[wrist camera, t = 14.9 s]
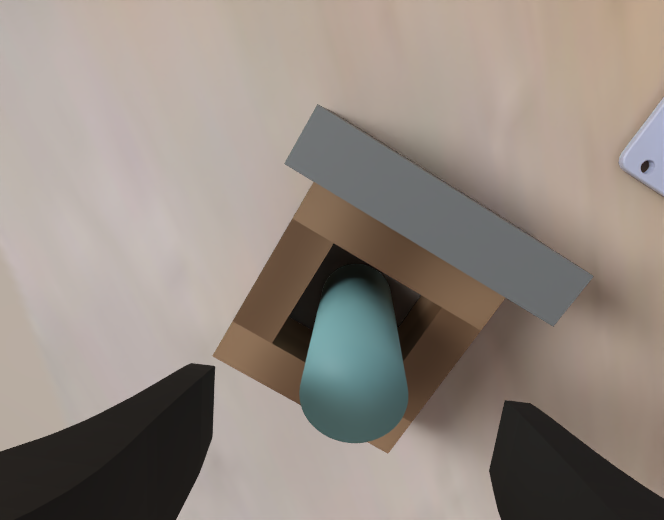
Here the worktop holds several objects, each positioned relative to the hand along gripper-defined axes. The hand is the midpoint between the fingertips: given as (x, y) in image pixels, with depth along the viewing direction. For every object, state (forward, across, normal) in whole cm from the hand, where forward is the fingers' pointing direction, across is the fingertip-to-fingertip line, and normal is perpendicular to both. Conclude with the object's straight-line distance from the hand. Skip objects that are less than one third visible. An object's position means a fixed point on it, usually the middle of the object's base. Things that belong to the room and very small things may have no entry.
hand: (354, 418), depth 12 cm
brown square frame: (+9, 0, 0) cm, 9 cm away
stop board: (+9, -2, -4) cm, 11 cm away
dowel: (+9, 0, 0) cm, 9 cm away
